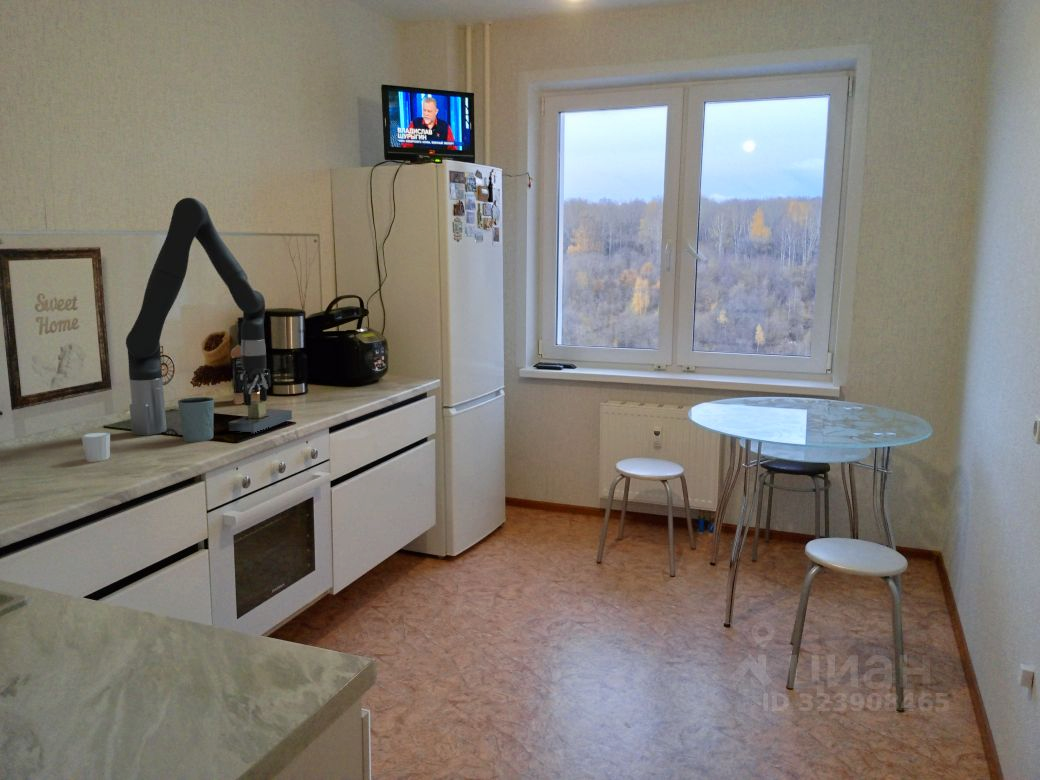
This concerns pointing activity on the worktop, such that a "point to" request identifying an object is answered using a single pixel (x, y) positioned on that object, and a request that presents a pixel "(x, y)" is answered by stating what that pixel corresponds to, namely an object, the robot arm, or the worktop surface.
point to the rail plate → (260, 421)
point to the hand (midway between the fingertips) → (255, 403)
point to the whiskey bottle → (241, 371)
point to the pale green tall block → (257, 410)
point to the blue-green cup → (197, 418)
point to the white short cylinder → (96, 446)
